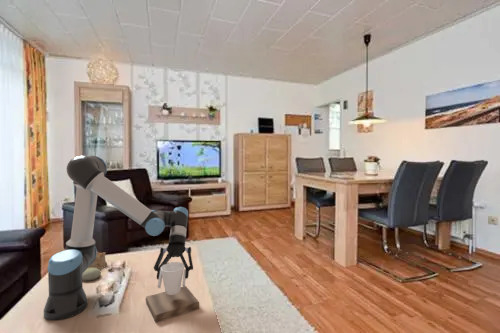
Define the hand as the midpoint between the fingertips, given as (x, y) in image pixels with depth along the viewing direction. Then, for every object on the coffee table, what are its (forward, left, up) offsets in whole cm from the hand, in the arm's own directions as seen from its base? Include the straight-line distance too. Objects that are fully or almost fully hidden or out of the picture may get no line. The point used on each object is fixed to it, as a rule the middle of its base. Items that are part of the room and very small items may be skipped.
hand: (171, 286), depth 112 cm
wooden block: (+1, +3, -10) cm, 11 cm away
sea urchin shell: (-27, +52, -10) cm, 59 cm away
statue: (-24, +66, -10) cm, 71 cm away
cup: (+2, +3, -4) cm, 5 cm away
